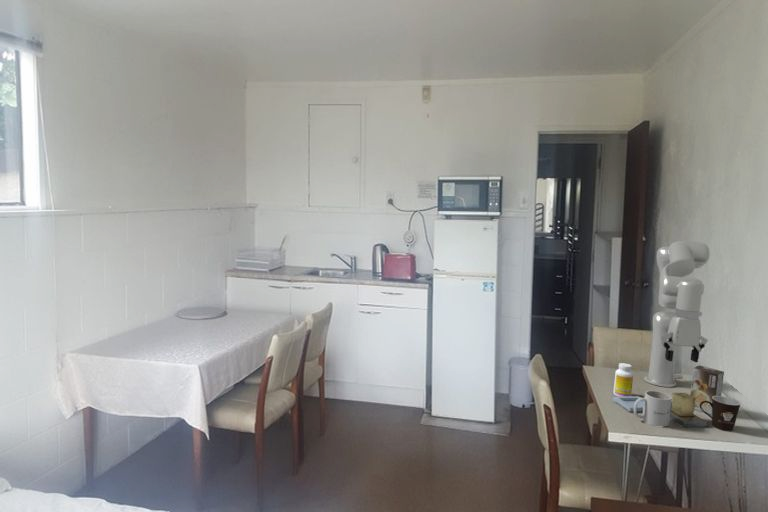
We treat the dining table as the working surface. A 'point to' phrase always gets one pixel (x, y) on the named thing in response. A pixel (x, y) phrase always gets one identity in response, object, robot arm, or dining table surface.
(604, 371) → the dining table surface
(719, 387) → the coffee box
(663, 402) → the mug
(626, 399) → the parts tray
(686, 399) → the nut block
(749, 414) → the dining table surface
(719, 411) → the coffee mug
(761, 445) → the dining table surface
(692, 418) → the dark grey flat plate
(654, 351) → the robot arm
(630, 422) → the dining table surface
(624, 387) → the supplement bottle
